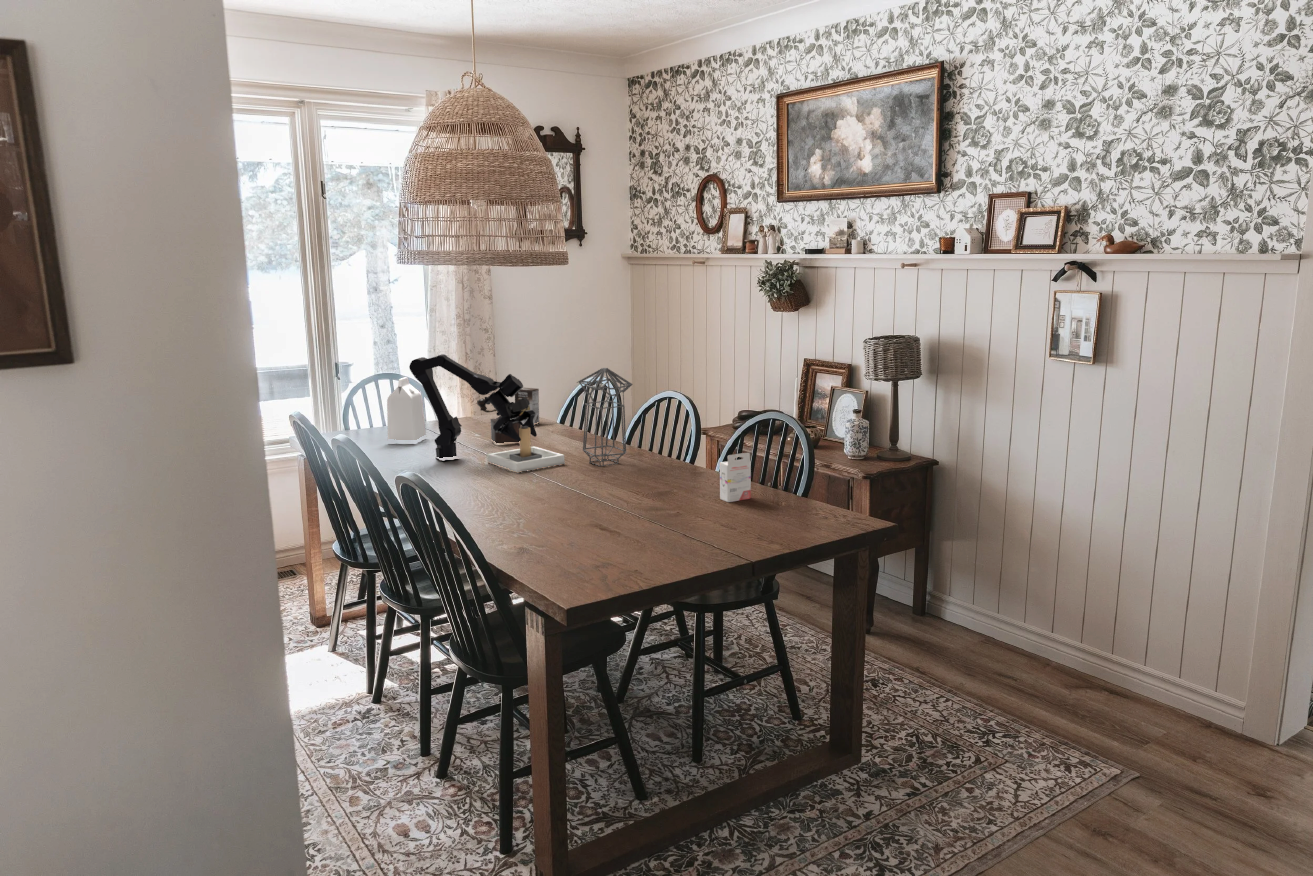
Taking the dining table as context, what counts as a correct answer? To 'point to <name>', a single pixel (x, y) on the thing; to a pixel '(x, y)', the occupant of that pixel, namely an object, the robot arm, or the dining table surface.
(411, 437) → the milk
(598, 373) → the geometric lantern
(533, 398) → the coffee box
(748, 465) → the ink cartridge box
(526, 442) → the tan bottle
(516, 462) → the walled box
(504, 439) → the manual coffee grinder
